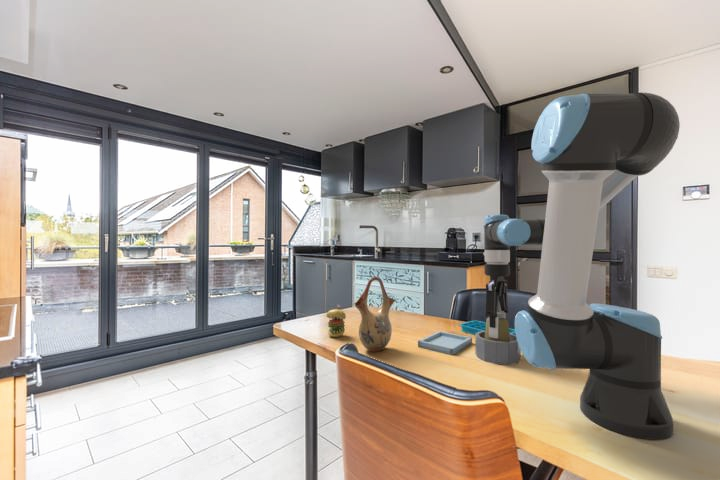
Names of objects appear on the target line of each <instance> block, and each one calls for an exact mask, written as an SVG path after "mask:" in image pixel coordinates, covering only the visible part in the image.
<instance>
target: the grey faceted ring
mask: <svg viewBox="0 0 720 480" xmlns="http://www.w3.org/2000/svg"><path fill="white" fill-rule="evenodd" d="M474 338H475V340H474V341H475V342H474V343H475V345H474V346H475V348H474V349H475V350H474V352H475V356H476V357H477V358H478V359H480V360H482V361H484V362H488V363H492V364H497V365H514V364H518V363H520V361H521V360H522V352H521V350H520V347H519V344H518V341H517V338H516V335H514V334H511V333H510V341H509V342H499V341H492V340H487V339H485V331H479V332H477V333H476V334H475V335H474Z"/></svg>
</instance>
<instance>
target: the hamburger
mask: <svg viewBox="0 0 720 480" xmlns="http://www.w3.org/2000/svg"><path fill="white" fill-rule="evenodd" d="M336 306H337V308H334V309H330V310H328V311H327V314H326V318H328V322H327V324H328V325H327V327H328V329H327V334H328V336H329V337H332V338H339V337H341V336H343V335H344V333H345V321H344V320H346V318H347V317H346V312H344V311H343V310H341V309H338V308H340V307H341V305H340V304H337V305H336Z"/></svg>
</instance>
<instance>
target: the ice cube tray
mask: <svg viewBox="0 0 720 480" xmlns="http://www.w3.org/2000/svg"><path fill="white" fill-rule="evenodd" d="M459 327H461V331H462V333H463V332H464V333H467V334H470V335H474V336H475V334H476V333H477V332H479V331H485V330H486V322H484V321H480V320H469V321H466V322H462V323H459ZM509 333H511V334H514V335H516V333H515V328H510V327H509Z"/></svg>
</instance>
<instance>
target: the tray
mask: <svg viewBox="0 0 720 480" xmlns="http://www.w3.org/2000/svg"><path fill="white" fill-rule="evenodd" d="M472 343H473V337H472V336H465V335H461V334H455V333H450V332H447V331H442V330H438V331H437V332H434V333H432V334H430V335H428V336H426V337H424V338H422V339H419V340H417V347H418V348H421V349H422V348H423V349H426V350H430V351H435V352H439V353H443V354H447V355H450V356H454V355H455V354H457V353H458V352H461V351H462V350H463V349H465V348H467V347H468V346H470V345H472Z"/></svg>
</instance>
